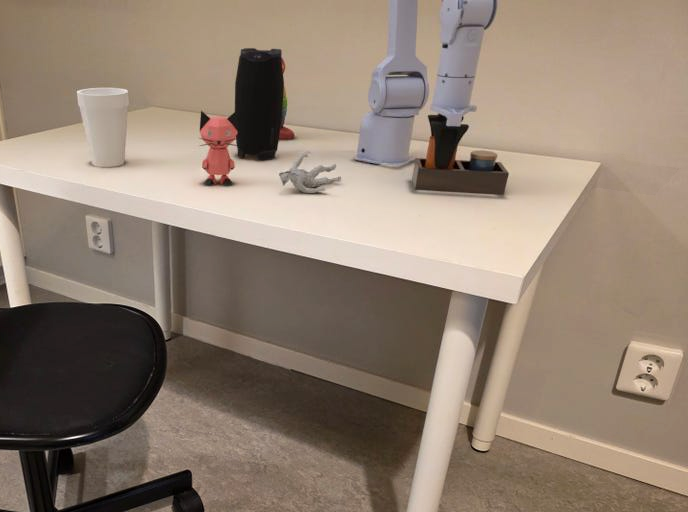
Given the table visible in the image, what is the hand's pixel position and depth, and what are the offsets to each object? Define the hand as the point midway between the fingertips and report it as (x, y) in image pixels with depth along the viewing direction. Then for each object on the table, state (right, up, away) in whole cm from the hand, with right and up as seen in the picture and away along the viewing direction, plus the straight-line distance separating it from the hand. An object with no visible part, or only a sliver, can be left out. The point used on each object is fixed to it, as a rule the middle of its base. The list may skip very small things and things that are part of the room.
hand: (439, 163), depth 107 cm
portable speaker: (-29, +8, +22) cm, 37 cm away
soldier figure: (-22, -4, +2) cm, 22 cm away
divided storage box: (+3, -4, +2) cm, 5 cm away
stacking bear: (-26, +18, +38) cm, 49 cm away
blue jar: (+7, -4, +1) cm, 8 cm away
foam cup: (-59, +5, +17) cm, 61 cm away
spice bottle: (0, -2, +1) cm, 3 cm away
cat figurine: (-37, -2, +5) cm, 38 cm away
